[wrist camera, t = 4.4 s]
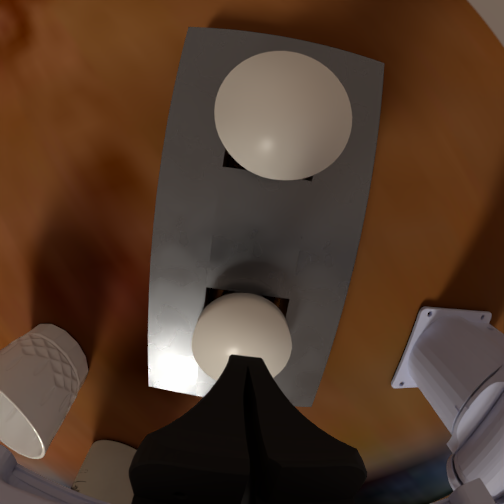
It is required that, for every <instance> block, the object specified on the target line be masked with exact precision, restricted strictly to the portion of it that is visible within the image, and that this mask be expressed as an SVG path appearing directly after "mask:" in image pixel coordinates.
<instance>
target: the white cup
mask: <svg viewBox="0 0 504 504" xmlns="http://www.w3.org/2000/svg"><path fill="white" fill-rule="evenodd" d="M87 374H88V365H87V360H86V356H85V354H84V353H83V351H82V349H81V348H80V346H79V344H78V342H77V341H76V340H74V339H73V338H72V337H71V336H70V335H69V334H68V333H67V332H66V331H65V330H63V329H61V328H59V327H57V326H55V325H53V324H39V325H38V326H36V327H35V328H34V329H32V330H31V331H29V332H28V333H27V334H25V335H24V336H22V337H19V338H18V339H16V340H14V341H13V342H11V343H10V344H9V345H7V346H6V347H5V348H3V349H1V350H0V441H2V442H3V443H4V444H5V445H7V446H8V447H9V448H11V449H12V450H14V451H16V452H17V453H19V454H21V455H23V456H26V457H29V458H33V459H40V458H42V457H44V455H45V453H46V451H47V449H48V447H49V446H50V444H51V442H52V440H53V438H54V436H55V435H56V433H57V431H58V429H59V428H60V426H61V424H62V422H63V421H64V419H65V417H66V415H67V413H68V411H69V409H70V407H71V406H72V404H73V402H74V400H75V398H76V397H77V393H78V391H79V390H80V388H81V386H82V385H83V383H84V382H85V379H86V376H87Z"/></svg>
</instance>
